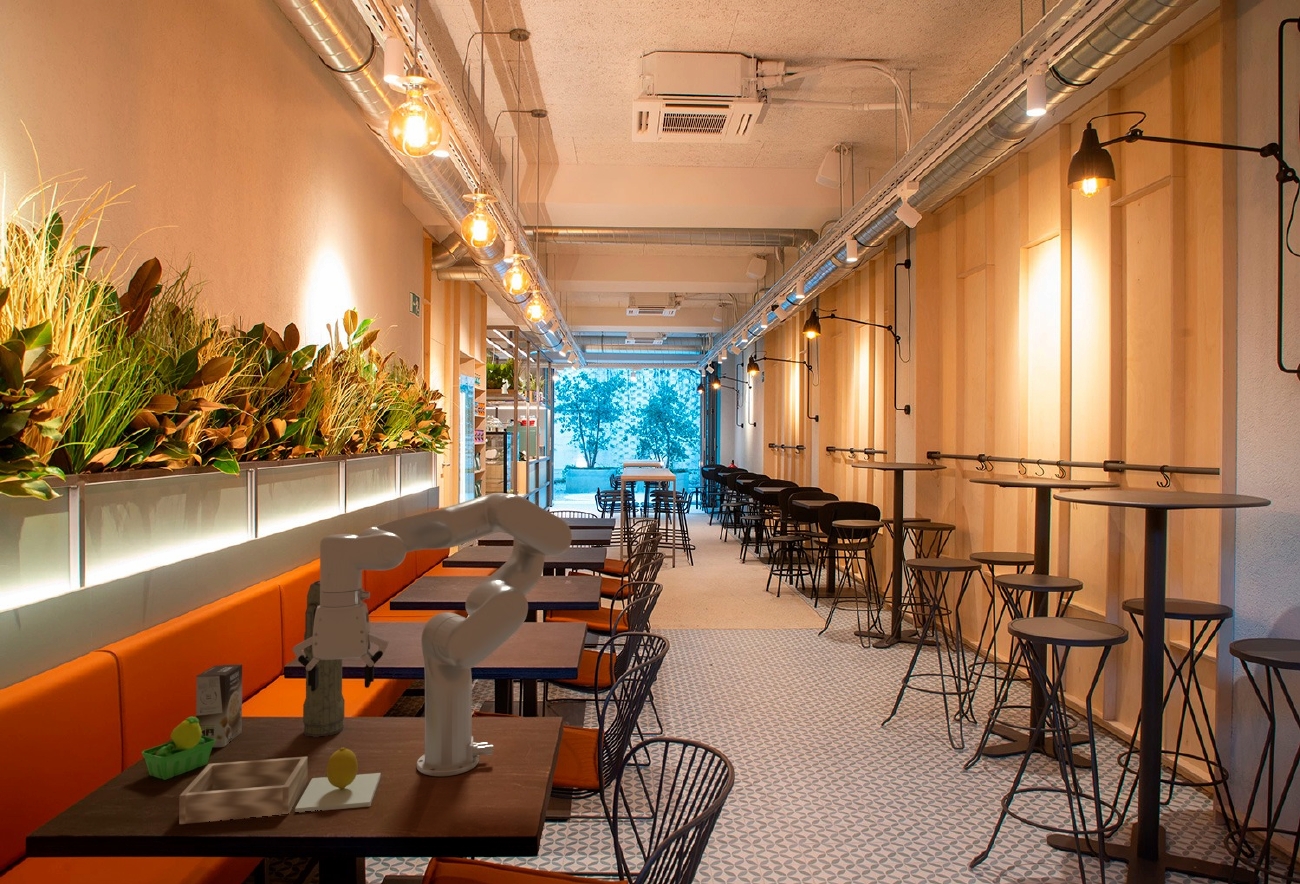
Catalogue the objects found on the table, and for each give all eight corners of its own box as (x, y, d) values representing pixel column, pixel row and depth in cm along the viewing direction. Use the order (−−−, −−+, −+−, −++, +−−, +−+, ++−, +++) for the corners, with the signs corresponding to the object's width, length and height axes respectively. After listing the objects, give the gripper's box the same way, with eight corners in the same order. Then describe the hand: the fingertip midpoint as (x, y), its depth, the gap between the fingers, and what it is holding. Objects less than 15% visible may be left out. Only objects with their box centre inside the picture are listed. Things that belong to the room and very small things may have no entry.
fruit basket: (194, 756, 164) (194, 704, 165) (221, 764, 161) (221, 710, 161) (139, 776, 154) (139, 721, 154) (166, 785, 150) (166, 728, 150)
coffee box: (225, 747, 169) (225, 675, 169) (194, 748, 169) (195, 676, 169) (242, 732, 178) (243, 663, 179) (213, 733, 178) (214, 664, 178)
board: (380, 776, 154) (380, 772, 154) (370, 806, 141) (370, 801, 141) (312, 782, 152) (312, 778, 152) (295, 812, 139) (295, 808, 139)
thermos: (354, 721, 185) (354, 577, 186) (328, 740, 173) (329, 586, 174) (319, 720, 186) (320, 577, 186) (292, 738, 174) (292, 585, 175)
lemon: (346, 797, 143) (347, 754, 143) (320, 794, 144) (320, 752, 145) (363, 784, 149) (363, 743, 149) (337, 782, 150) (338, 741, 150)
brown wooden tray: (307, 781, 152) (307, 756, 152) (288, 814, 138) (288, 787, 138) (208, 789, 148) (208, 763, 148) (179, 824, 135) (179, 795, 135)
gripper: (390, 593, 153) (391, 678, 152) (298, 597, 149) (298, 684, 149) (385, 600, 145) (385, 690, 145) (288, 604, 142) (288, 696, 142)
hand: (341, 687), depth 147 cm, fingers open, 9 cm apart
